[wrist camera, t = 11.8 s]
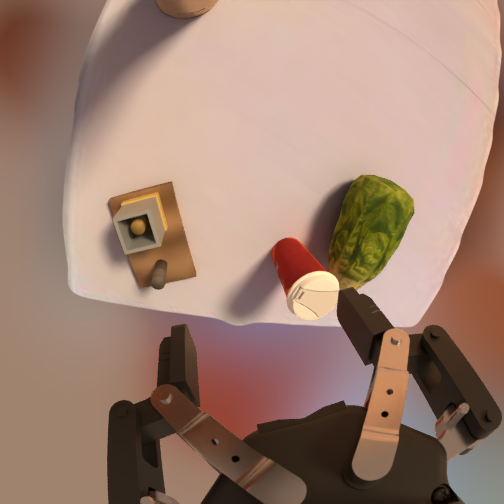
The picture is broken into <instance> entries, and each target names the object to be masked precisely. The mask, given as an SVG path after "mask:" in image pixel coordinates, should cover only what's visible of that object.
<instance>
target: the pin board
mask: <svg viewBox="0 0 504 504" xmlns="http://www.w3.org/2000/svg"><path fill="white" fill-rule="evenodd" d="M155 192H159V196H160V200H161V204H162V208H163V211H164V215H165V218H166V222H167V226H168V228H167V231H165V232H164V236H163V240H162V245H161V246H160V247H156V248H152V249H147V250H143V251H139V252H135V253H130V254H127V255H128V258H129V261H130V263H131V266H132V268H133V271H134V273H135V276H136V278H137V281H138V283H139V285H140V288H144V287H149V286H152V287H153V288H155V289H158V290H159V289H162V288H163V287H164V285H165V283H168V282H172V281H177V280H182V279H186V278H191V277H196V270H195V267H194V264H193V260H192V257H191V253H190V250H189V246H188V242H187V239H186V235H185V231H184V228H183V224H182V220H181V216H180V213H179V209H178V205H177V201H176V197H175V193H174V189H173V185H172V181H171V182H167V183H163V184H160V185H156V186H152V187H148V188H144V189H141V190H137V191H133V192H130V193H126V194H123V195H120V196H116V197H113V198H110V199H109V204H110V207H111V210H112V213H113V216H115V215H116V213H117V212H118V211H119V209H120V208H121V207H122V206H121V203H122V202H123V201H126V200H129V199H133V198H137V197H140V196H144V195H148V194H152V193H155ZM133 220H134V221H133V223H132V224H131V230H132V232H133V233H134V234H136V235H141V234H143V233H144V231H145V229H146V227H149V226H151V225H150V222H149V218H148V215H147V214H144V215H140V216H136V217H133Z"/></svg>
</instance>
